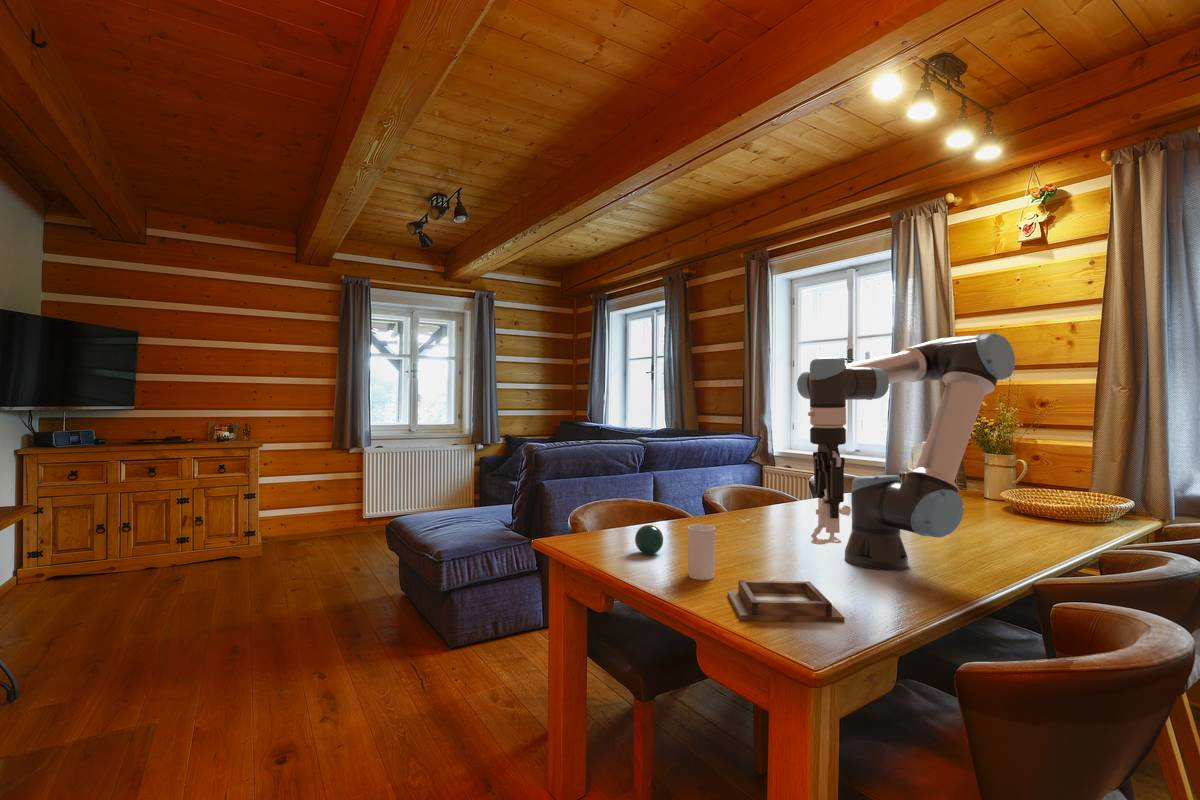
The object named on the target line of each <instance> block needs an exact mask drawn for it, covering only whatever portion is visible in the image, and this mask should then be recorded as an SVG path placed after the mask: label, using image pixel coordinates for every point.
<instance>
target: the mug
mask: <svg viewBox="0 0 1200 800" xmlns="http://www.w3.org/2000/svg"><path fill="white" fill-rule="evenodd" d="M715 561H716V527H715V526H713V525H710V524H701V523H700V524H690V525H688V526H687V568H688V569H687V572H688V577H689V578H691V579H693V580H696V581H710V580H712V579H714V578H715V566H716V565H715V564H716V562H715Z"/></svg>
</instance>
